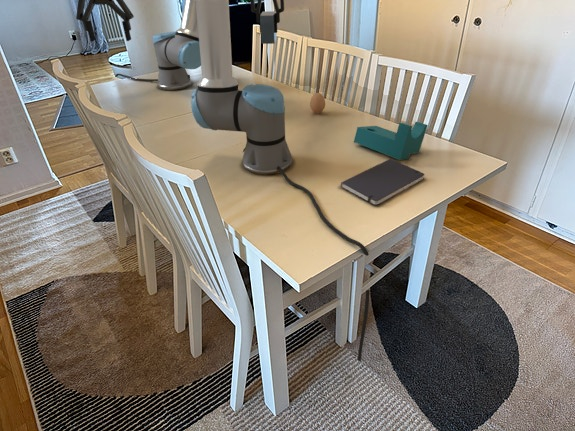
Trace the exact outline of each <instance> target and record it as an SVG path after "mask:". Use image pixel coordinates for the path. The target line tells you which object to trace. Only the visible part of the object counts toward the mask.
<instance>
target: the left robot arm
mask: <svg viewBox="0 0 575 431" xmlns="http://www.w3.org/2000/svg"><path fill="white" fill-rule="evenodd" d="M115 1H116V3H117V4H116V3H115ZM115 1H114V0H88V3H87V5H86V0H78V1H77V7H76V18H75V19H76V20H77V21H81V22H82V23H83V27H84V31H86V32H87V33H88V37H89V41H90V42H95V41H96V40H97V38H96V35H95V31H94V27H93V24H92V21H91V20H89V19H90V16H91V15H92V12H93V10H94V7H95V6H99V5H102V6H104V5H105V6H106V5H107V6H108V7H110V8H111V9H112V10H113V11H114V12H115V13H116V15H118V17H120V19H122V21H121V25H122V28H123V32H124V36H125V39H126V40H125V41H126V42H129V41H131V40H132V37H131V30H132V26H131V20H132V19H134V18H135V15H134V14H133V13H132V11H131V9H130V8H129V7H128V5H127V3H126V2H125V1H124V0H115ZM85 5H86V8H85ZM181 16H182V17H181V21H180V27H179V28H178V29H176V30H175V31H166V32H161V33H156V34H154V35H153V36H152V45H153V48H154V49H153V50H154V53H155V58H156V62H157V67H158V75H157V78H138V77H133V76H129V75H127V74H126V75H125V74H122V73H115V75H114V78H118V76H119V77H122V78H127V79H130V78H131V79H130V80H133V81H139V82H157V87H158V89H160V90H163V91H179V90H183V89H187V88H189V87H190V86H192V80H191V74H188V72H187V70H197V69H198V68H200V67H201V57H200V45H199V34H198V22H197V10H196V0H184V4H183V10H182V15H181ZM135 78H137V79H135Z"/></svg>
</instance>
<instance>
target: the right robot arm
mask: <svg viewBox="0 0 575 431" xmlns="http://www.w3.org/2000/svg"><path fill="white" fill-rule="evenodd" d="M262 1H263V0H257V2H256V0H250V12H251V13H254V14H255V18H256V19H255V20H256V23H257V24H258V25H259V33H260V34H261V25H260V15H261V13H262V12H261V9H262V8H261V7H262ZM272 4H273V6H274V9H275V10H274V11H276V13H275V14H274V22H275V33H276V34H277V33H278V24H279V23H280V21H281V13H283V12H285V0H279V3H278V0H272ZM279 4H280V7H279ZM196 10H197V22H198V34H199V45H200V57H201V66H200V67H201V69H200V70H201V78H200V80H198V81H197V83H196V84H197V87H196V88H195V89H194V90H193V91H192V93H191V100H190V108H191V113H192V116H193V118H194V120H195V122H196V124H198V126H199V127H201V128H202V129H206V130H212V131H227V132H240V133H241V132H242V133H245V136H246V137H245V138H246V143H245V146H244V148H243V151H242V153H243V155H242V166H243V168H244V170H246V171H247V172H249V173H252V174H254V175H255V174H256V175H262V176H269V175H277V174H281V175H282V177H283V178H284V180H285V181H286V182H287V183H288V184H289V185H291V186H293V187H295V188H297V189H299V190H302V191H303V192H304V193H306V194H307V196H308V197H309V198H310V200H311V202H312V204H313V206H314V208H315V209H316V211H317V213H318V215H319V217H320V219H321V220H322V221H323V223H324V224H325V225H326V226H327V227H328V228H329V229H330V230H332V232H334V233H336V234H337V235H338V236H340V237H341V238H342V239H344V240H345V241H347V242H348V243H351V244H353V245H355V246H357V247H358V248H359V249H361V250H362V253H363V255H365V256H370V253H369V251H368V249H367V248H366V246H365V245H364V244H362V243H361V242H359V241H358V240H355V239H353V238H351V237H349V236H347V235H346V234H345V233H343V232H342V231H340V230H339V229H338V228H337V227H335V226H334V225H333V224H332V223H331V222H329V220H328V219H327V218H326V217H325V215H324V214H323V211H322V209H321V208H320V206H319V204H318V203H317V201H316V199H315V197H314V195H313V194H312V192H311V191H310V190H309V189H308V188H306V187H304V186H303V185H300V184H298V183H295V182H294V181H292V180H291V179H290V178H289V177H288V176H287V174H286V171H287V170H289V169H290V167H291V166H292V163H293V158H292V153H291V150H290V148H289V145H288V143H287V140H286V115H285V114H286V105H285V98H284V94H283V93H282V91H281V90H280V89H278V88H277V87H275V86H272V85H268V84H263V83H255V84H253V83H252V84H247V85H245V86H243V88H242V90H240V89H239V82H238V81H237V80H236V79H235V78H234V76H233V58H232V42H231V39H232V38H231V21H230V18H231V17H230V0H196ZM370 294H371V290H370V289H366V290H365V301H364V310H363V311H364V312H363V317H362V318H363V320H362V325H361V332H360V338H359V345H358V352H357V361H358V362H361V361H362V352H363V346H364V341H365V334H366V328H367V323H368V322H367V321H368V314H369V308H370Z"/></svg>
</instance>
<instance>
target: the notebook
mask: <svg viewBox="0 0 575 431" xmlns="http://www.w3.org/2000/svg"><path fill="white" fill-rule="evenodd" d="M424 176H425V173H424V172H422V171H420V170H417V169H415V168H413V167H410V166H408V165H406V164H404V163H401V162H399V161H397V160H395V159H393V158H389V159H387V160H385V161H382V162H380V163H379V164H377V165H375V166H372V167H370V168H368V169H366V170H364V171H362V172H360V173H358V174H356V175H353V176H351V177H350V178H348V179H345V180H344V181H341V182H340V183H341V184H340V187H341V188H342V189H344V190H345V191H347V192H349V193H350V194H353V195H355V196H356V197H358V198H360V199H362V200H363V201H365V202H367V203H369V204H371V205H373V206H379V205H381V204H382V203H384V202H386V201H388V200H390V199H391V198H393V197H395V196H397V195H398V194H400V193H402V192H404V191H406V190H407V189H409V188H411V187H413V186H415V185H416V184H418V183H420V182H422V181H423V180H424Z"/></svg>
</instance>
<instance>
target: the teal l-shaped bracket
mask: <svg viewBox="0 0 575 431" xmlns="http://www.w3.org/2000/svg"><path fill="white" fill-rule="evenodd" d="M427 129H428V124H426V123H424V122H420V121H415V122H414V124H413V125H411V124H407V123H404V122H399V124H398V126H397V130H396V131H392V130H389V129H388V128H384V127H381V126H379V125H365V126H357V127H356V131H355V135H354V138H353V143H355V144H358V145H361V146H362V147H365V148H368V149H370V150H373V151H375V152H378V153H381V154H383V155H386V156H388V157H391V158H392V159H393V158H394V159H396V160H398V161H402V160H409V159H410V156H411V155H413V154H419V153H420V151H421V147H422V144H423V141H424V138H425V135H426V132H427Z"/></svg>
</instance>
